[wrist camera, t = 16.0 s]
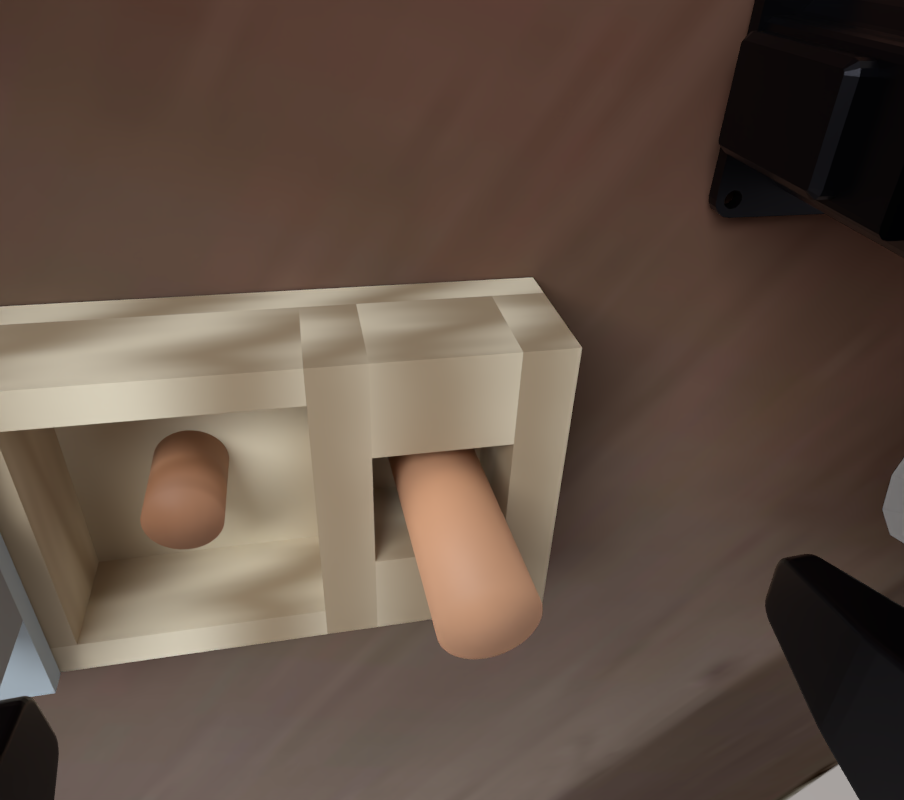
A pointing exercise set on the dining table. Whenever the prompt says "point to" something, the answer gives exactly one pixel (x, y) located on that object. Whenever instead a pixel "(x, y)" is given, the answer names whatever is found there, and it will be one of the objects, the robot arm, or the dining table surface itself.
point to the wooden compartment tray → (263, 455)
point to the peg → (465, 554)
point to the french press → (895, 504)
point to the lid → (21, 640)
